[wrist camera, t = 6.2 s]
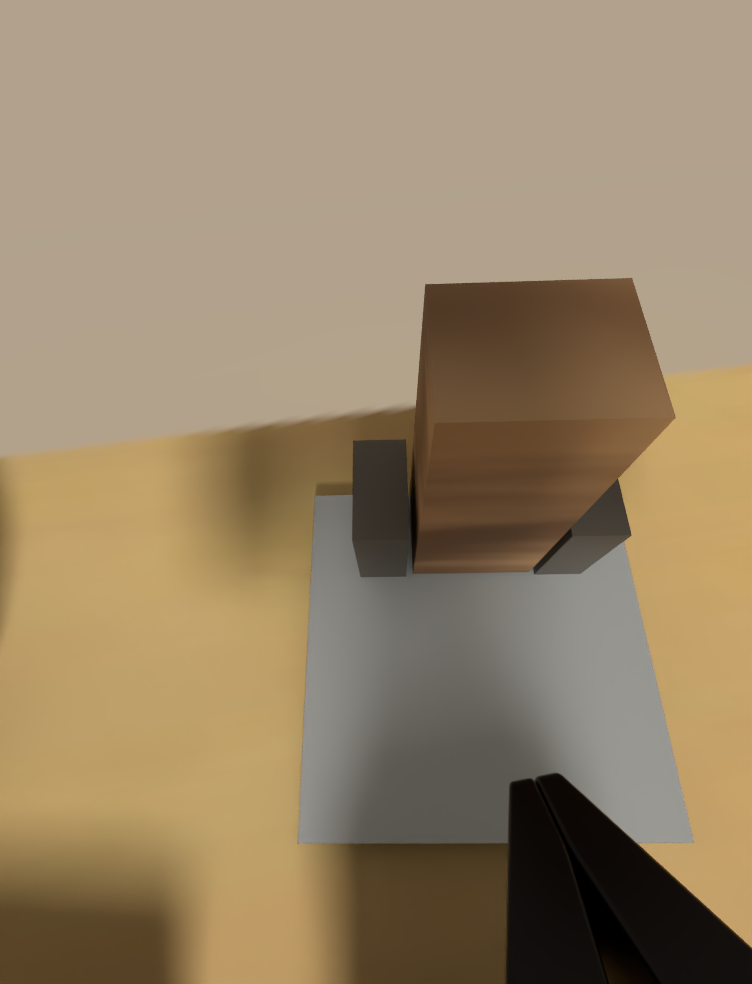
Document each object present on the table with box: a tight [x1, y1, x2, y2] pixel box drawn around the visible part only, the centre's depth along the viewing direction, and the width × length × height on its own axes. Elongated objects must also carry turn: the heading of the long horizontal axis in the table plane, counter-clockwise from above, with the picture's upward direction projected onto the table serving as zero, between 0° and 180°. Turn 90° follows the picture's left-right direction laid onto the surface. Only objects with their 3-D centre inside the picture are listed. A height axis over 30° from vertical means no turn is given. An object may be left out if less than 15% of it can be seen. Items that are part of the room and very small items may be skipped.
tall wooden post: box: [410, 278, 676, 574], centre depth 16 cm, size 4×5×12 cm
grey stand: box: [298, 440, 694, 844], centre depth 18 cm, size 14×14×6 cm
